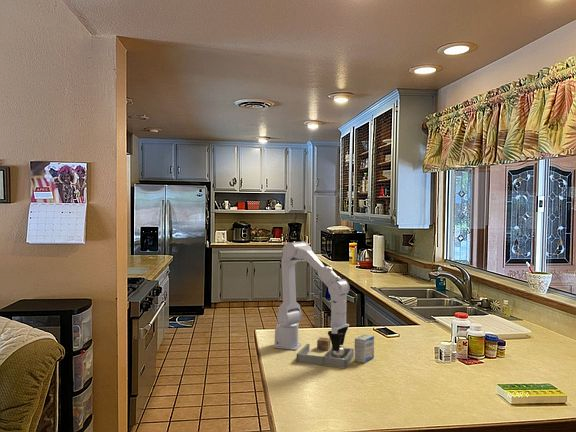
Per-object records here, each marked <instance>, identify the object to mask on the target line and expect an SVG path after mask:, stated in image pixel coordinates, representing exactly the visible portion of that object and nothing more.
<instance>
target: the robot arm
mask: <svg viewBox="0 0 576 432" xmlns="http://www.w3.org/2000/svg"><path fill="white" fill-rule="evenodd" d="M300 260H305V261H306V262H307V264H309V265H310V266H311V267H312V268H313V269H314V270H315V271H316V272H317V277H318V278H319V279H320V280H321V281H322V282H323V283H324V285H325V286H327V288H328V290H327V291H328V294H329V295H330V304H331V305H330V311H331V312H330V328H331V330H328V331H327V335H328V338H330V340H331V342H330V344H331V347H332V348H333V351H339V348H340V346H344V343H345V338H346V334H347V331H348V329H349V326H350V323H347V298H348V297H347V294H349V292H350V289H351V288H350V287H351V286H350V284H349V282H348V281H347V280H346V279H343V278H342V277H340V276H338V275H337V273H336V272H335V271H334V270H333V268H332V267H331V266H328V265H326V266H325V265H324V264H323V262H322V261H321V260H320V259H319V258H318V257H317V255H316V254H315V253H314V251H313V250H312V246H310V245H309V244H308V242H306V241H304V240H303V241H302V240H301V241H296V242H295V241H294V242H287V243H285V245H283V247H282V257H281V279H282V281H281V284H282V303H281V304H280V305H279V307H278V310H277V311H278V312H277V314H276V315H277V317H276V320H277V323H278V324H276V326H275V329H274V346H273V348H275V349H283V350H292V351H297V349H298V348H299V347H301V345H302V343H301V342H300V343H299V325H300V322H301V321H302V319H303V313H302V310H301V304H299V303H298V302H297V291H296V290H297V289H296V287H297V286H296V264H297V263H298V262H299V261H300Z"/></svg>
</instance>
